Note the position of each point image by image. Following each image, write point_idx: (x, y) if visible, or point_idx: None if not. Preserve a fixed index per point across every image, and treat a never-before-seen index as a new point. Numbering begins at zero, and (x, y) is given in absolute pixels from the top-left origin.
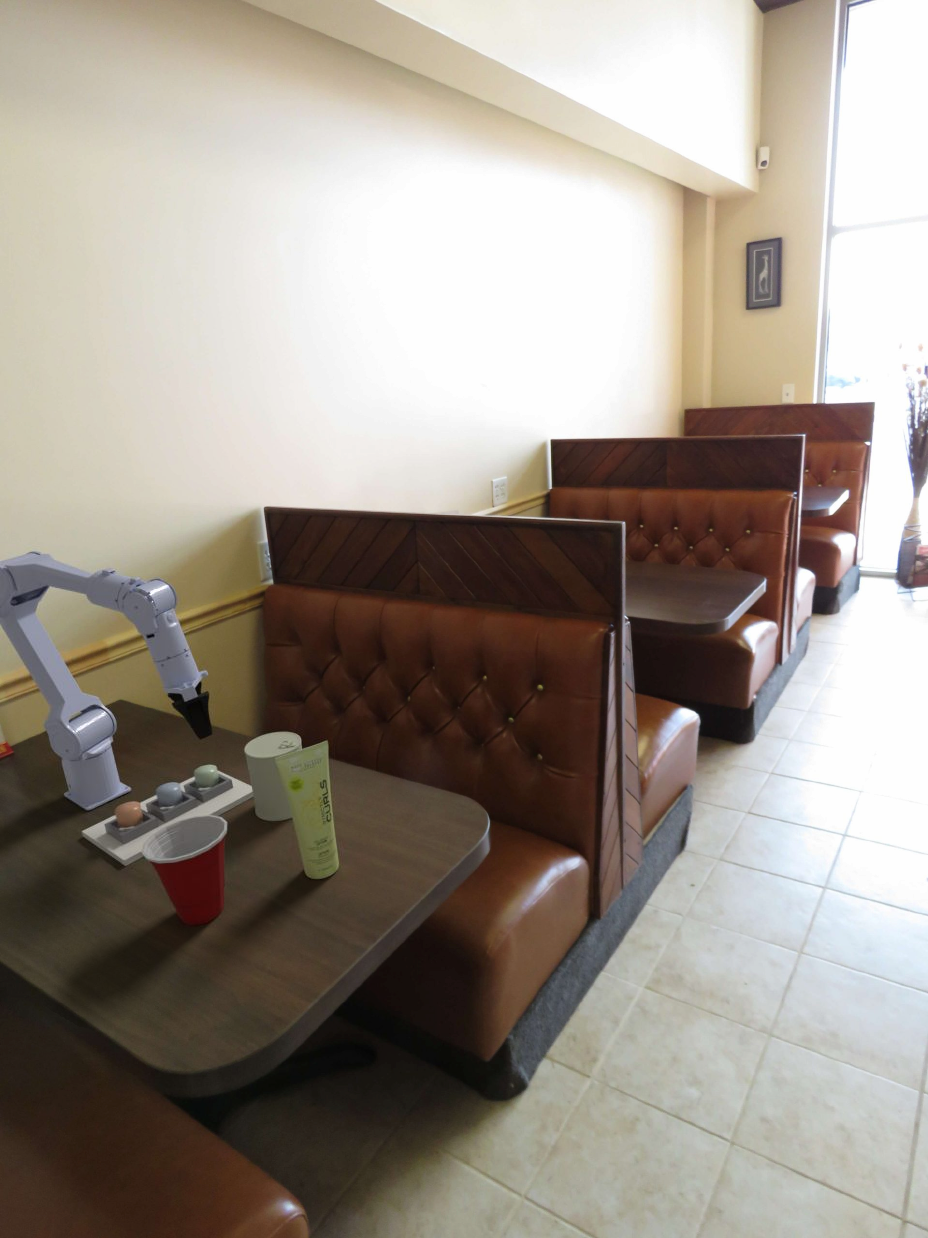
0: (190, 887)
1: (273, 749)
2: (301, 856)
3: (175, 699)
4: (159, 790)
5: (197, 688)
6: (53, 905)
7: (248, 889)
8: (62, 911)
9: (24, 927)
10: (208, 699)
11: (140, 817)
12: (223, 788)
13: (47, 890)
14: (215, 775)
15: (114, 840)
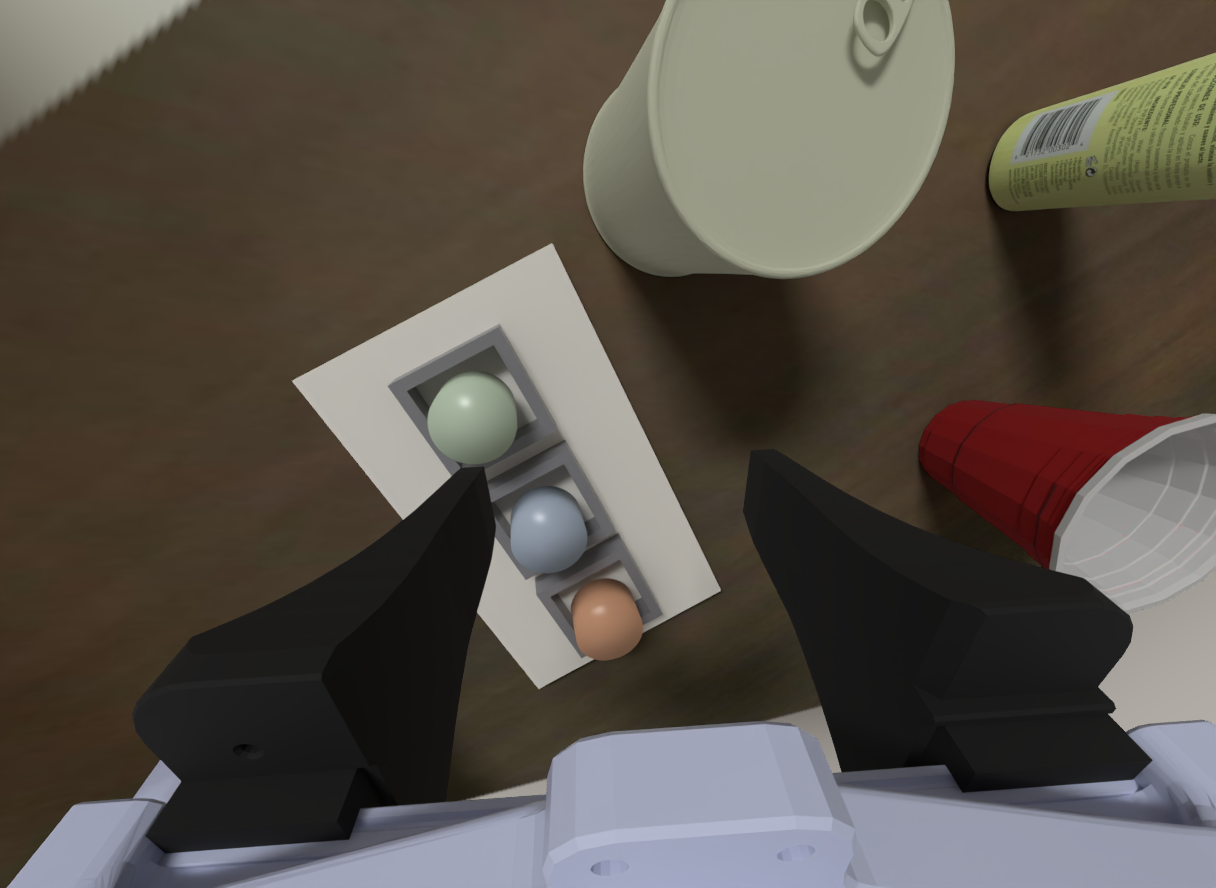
0: (1106, 484)
1: (865, 117)
2: (1063, 207)
3: (444, 774)
4: (550, 563)
5: (376, 658)
6: (759, 675)
7: (959, 347)
8: (786, 658)
9: (790, 700)
10: (1054, 573)
11: (622, 588)
12: (517, 358)
13: (706, 694)
14: (500, 387)
15: None
